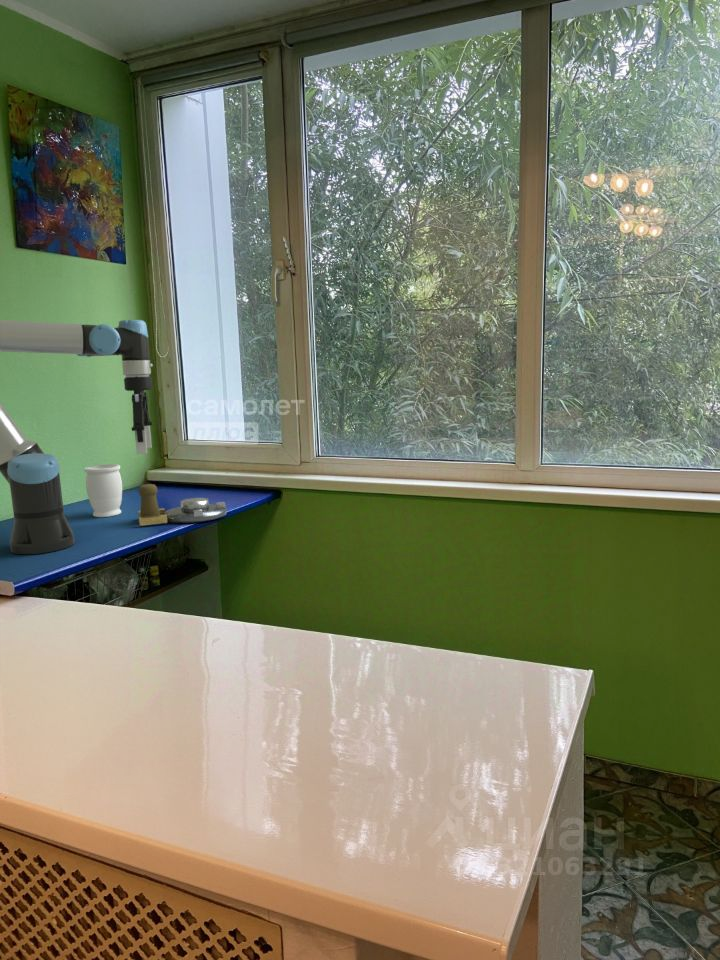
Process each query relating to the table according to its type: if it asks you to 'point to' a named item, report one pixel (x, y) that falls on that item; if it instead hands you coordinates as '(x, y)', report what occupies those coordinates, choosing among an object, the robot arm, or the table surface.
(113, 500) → the jar
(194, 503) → the grey disc with block
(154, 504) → the cork
